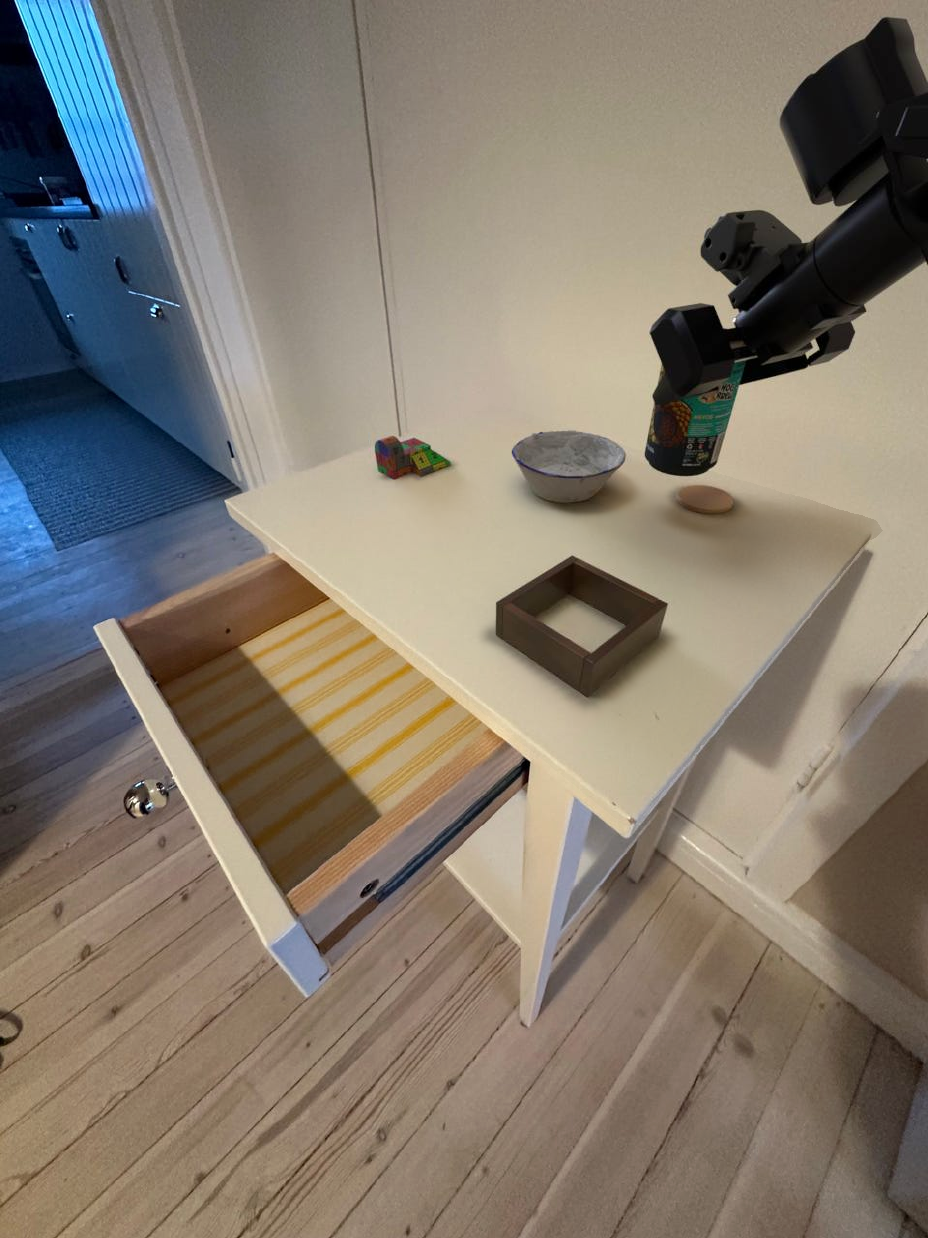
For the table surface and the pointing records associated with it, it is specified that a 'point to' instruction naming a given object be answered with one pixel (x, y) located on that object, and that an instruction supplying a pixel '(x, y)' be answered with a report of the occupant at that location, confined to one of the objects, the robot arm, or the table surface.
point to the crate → (558, 650)
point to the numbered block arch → (407, 457)
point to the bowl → (567, 464)
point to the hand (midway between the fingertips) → (684, 393)
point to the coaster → (705, 499)
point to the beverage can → (691, 429)
